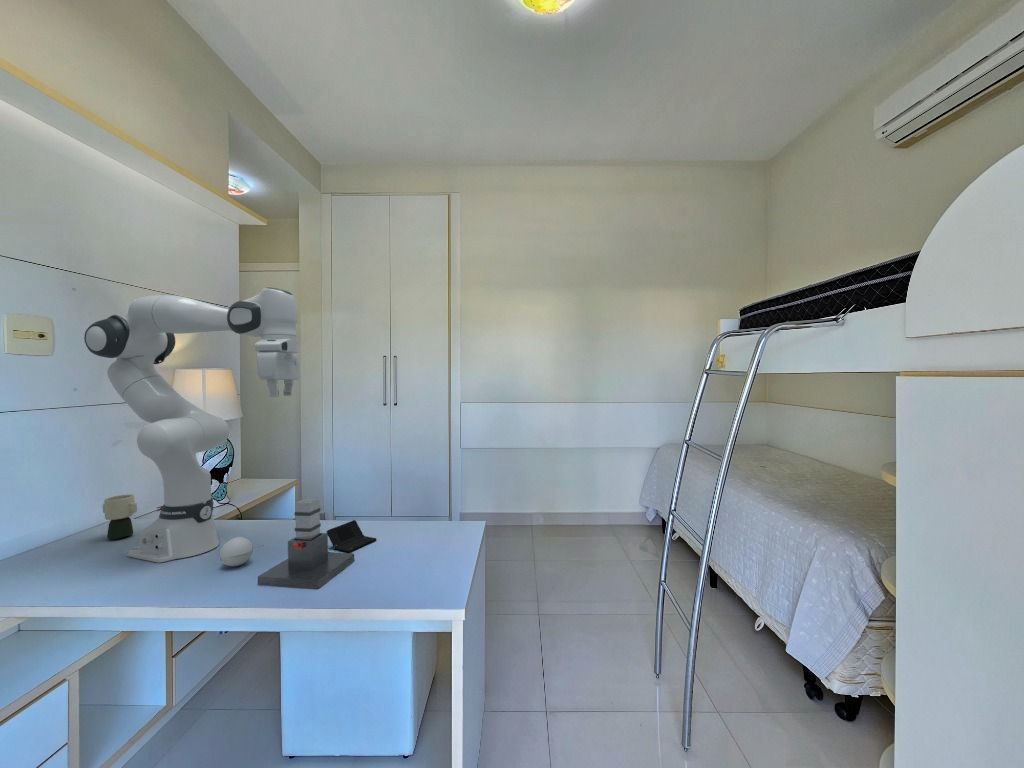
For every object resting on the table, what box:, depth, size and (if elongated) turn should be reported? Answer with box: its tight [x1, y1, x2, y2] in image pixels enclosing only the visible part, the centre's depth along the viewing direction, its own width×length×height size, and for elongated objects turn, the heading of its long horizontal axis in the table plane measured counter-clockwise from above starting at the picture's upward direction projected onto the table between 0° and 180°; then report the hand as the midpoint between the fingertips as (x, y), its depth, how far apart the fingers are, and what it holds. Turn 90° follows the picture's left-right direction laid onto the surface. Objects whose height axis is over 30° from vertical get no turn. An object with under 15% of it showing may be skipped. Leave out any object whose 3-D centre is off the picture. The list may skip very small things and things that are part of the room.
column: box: [293, 498, 322, 541], centre depth 111 cm, size 4×4×16 cm
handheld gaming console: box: [325, 519, 377, 553], centre depth 129 cm, size 12×7×10 cm
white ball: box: [219, 536, 265, 567], centre depth 116 cm, size 10×7×7 cm
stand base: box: [257, 532, 355, 590], centre depth 111 cm, size 16×16×9 cm
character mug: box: [102, 494, 138, 540], centre depth 139 cm, size 11×7×13 cm, turn 88°
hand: (281, 396), depth 121 cm, fingers open, 8 cm apart
